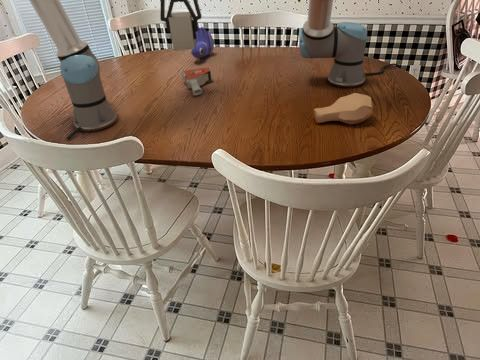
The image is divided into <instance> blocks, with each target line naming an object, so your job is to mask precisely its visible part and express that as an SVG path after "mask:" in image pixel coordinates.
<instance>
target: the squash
mask: <svg viewBox="0 0 480 360" xmlns="http://www.w3.org/2000/svg"><path fill="white" fill-rule="evenodd" d="M373 111H374V104H373V100H372V97H371V96H369V95H366V94H364V93H363V94H362V93H357V92H353V93H351V94H348V95H345V96H341V97H338V99H337V100H335V102H334V103H332V104H331V105H330V106H325V107H316V108H314V109H313V116H314V118H315V122H316V123H317V124H320V123H325V122H332V121H336V122H339V121H340V122H341V123H343V124H344V123H345V124H347V125H356V124H361V123H363V122H365V121H367V120H368V119H370V118H371V116H372V115H373Z"/></svg>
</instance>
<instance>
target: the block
mask: <svg viewBox="0 0 480 360" xmlns="http://www.w3.org/2000/svg"><path fill="white" fill-rule="evenodd" d="M192 20H193V18H192V16H191V14H190V12H189V11H178V12H171V15H170V16H169V24H170V31H171V35H170V38H171V37H172V40H171V43H172V50H173V51H186V50H191V49H194V48H195V45H196V39H194V35H193V26H192ZM170 31H169V32H170Z"/></svg>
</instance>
